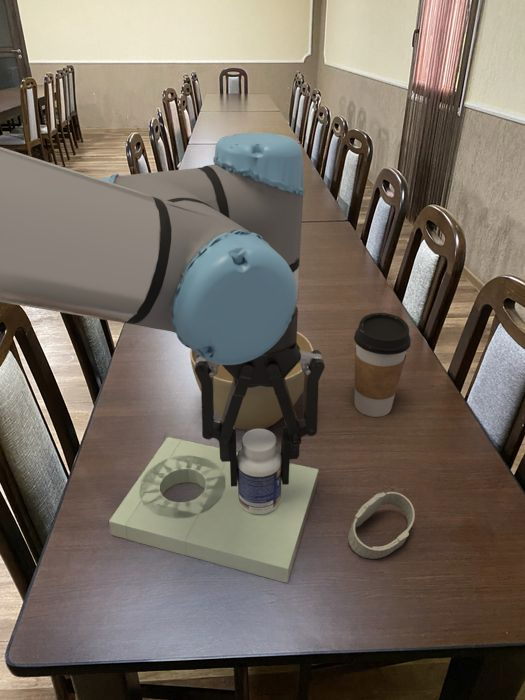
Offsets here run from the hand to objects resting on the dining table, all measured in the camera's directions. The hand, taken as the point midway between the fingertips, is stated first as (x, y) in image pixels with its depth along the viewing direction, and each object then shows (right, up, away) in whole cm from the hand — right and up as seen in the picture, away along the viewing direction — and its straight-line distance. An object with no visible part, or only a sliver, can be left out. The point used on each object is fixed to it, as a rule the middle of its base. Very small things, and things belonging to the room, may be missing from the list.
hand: (259, 477), depth 65 cm
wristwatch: (+15, -7, +1) cm, 16 cm away
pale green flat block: (-5, -5, +4) cm, 8 cm away
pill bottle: (0, -3, +2) cm, 4 cm away
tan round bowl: (-1, +5, +21) cm, 21 cm away
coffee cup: (+18, +6, +23) cm, 30 cm away
